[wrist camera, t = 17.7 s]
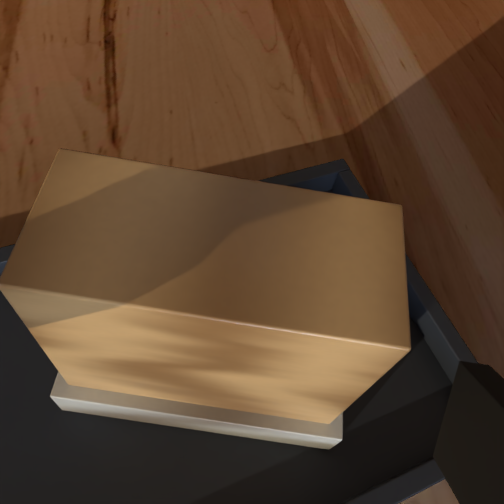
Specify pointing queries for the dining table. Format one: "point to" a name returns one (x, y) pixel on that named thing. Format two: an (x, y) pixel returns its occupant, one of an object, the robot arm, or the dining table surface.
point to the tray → (222, 445)
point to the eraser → (209, 297)
